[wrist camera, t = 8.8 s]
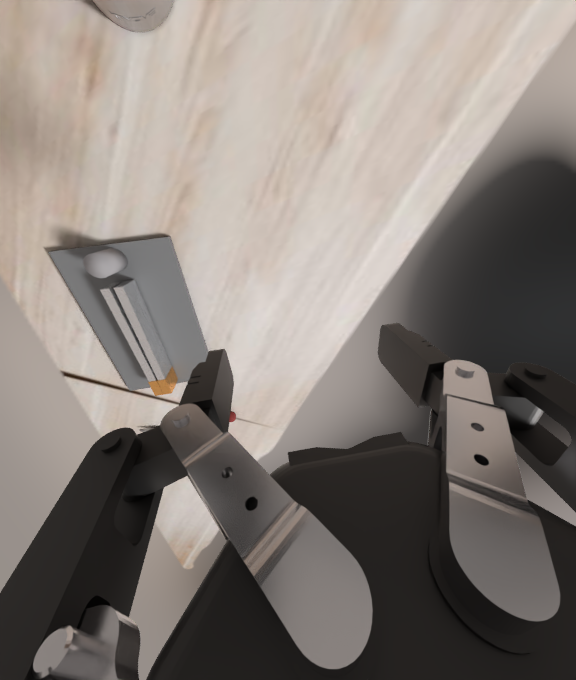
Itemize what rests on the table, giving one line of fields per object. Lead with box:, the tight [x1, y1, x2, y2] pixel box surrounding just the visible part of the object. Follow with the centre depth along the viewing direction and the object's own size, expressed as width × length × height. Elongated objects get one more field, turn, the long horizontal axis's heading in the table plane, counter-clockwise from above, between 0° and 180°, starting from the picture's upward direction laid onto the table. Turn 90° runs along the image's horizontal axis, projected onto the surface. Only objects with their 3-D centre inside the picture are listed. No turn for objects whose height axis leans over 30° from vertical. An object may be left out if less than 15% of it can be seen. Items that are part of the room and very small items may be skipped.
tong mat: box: [48, 236, 208, 391], centre depth 37 cm, size 25×16×6 cm, turn 6°
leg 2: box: [114, 280, 178, 394], centre depth 37 cm, size 19×1×4 cm, turn 5°
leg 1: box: [100, 281, 163, 396], centre depth 37 cm, size 19×1×4 cm, turn 6°
